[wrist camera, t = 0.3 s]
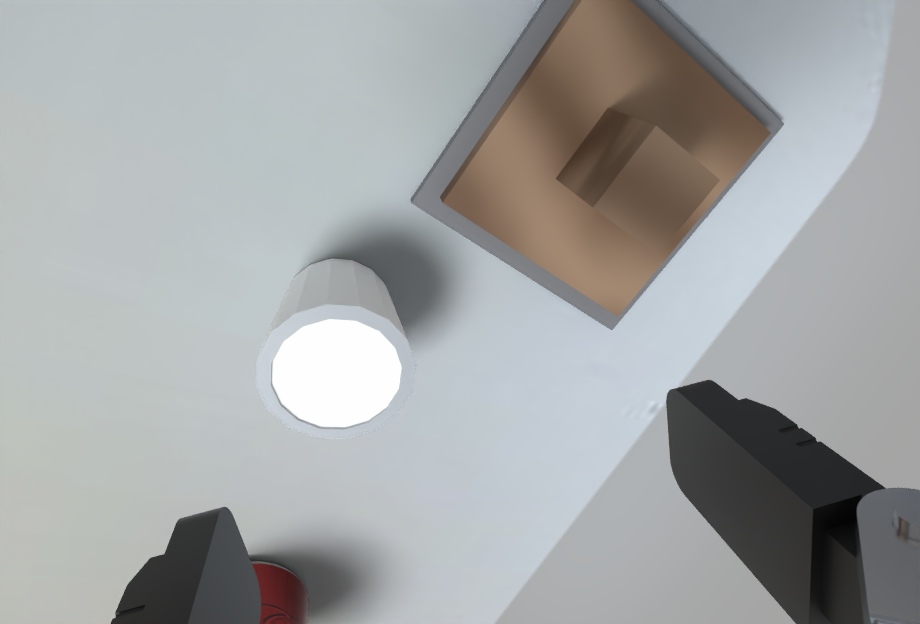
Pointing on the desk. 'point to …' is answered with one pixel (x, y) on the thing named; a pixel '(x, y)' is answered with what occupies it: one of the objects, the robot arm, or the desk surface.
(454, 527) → the desk surface
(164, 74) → the desk surface
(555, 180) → the lid
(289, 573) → the soda can
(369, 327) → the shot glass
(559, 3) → the mat
